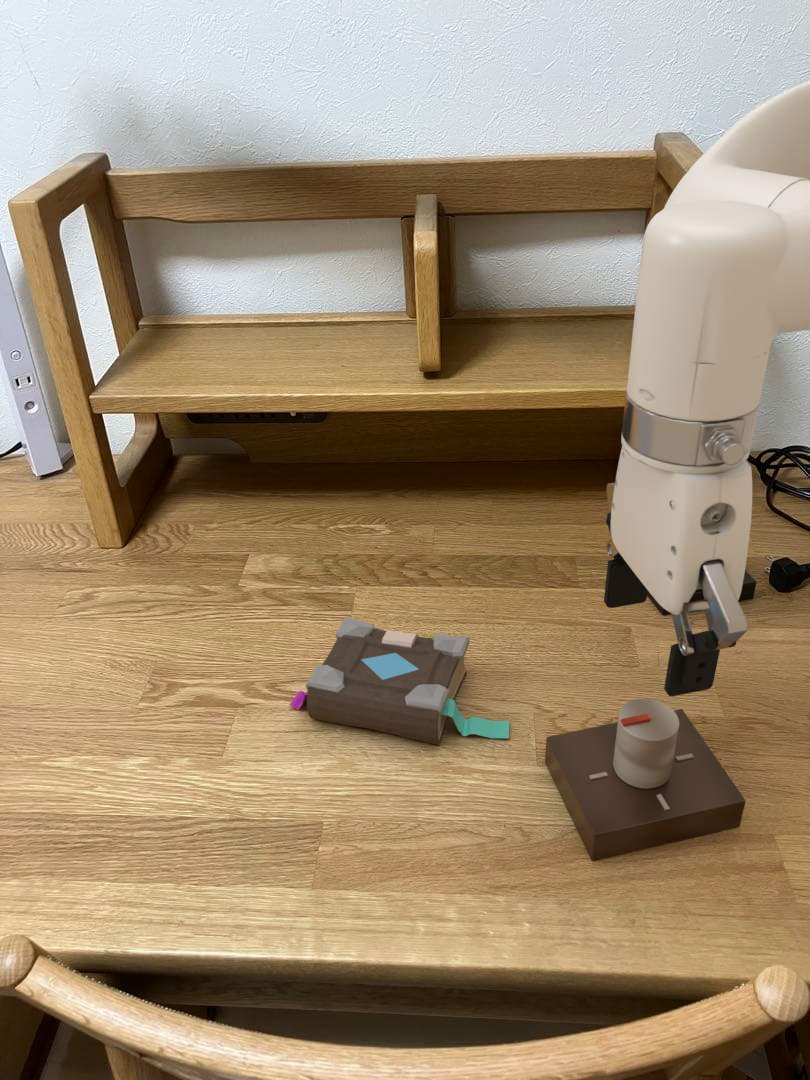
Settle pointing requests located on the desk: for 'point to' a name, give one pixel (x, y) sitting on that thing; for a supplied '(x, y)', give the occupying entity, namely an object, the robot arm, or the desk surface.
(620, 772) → the knob
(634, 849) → the panel
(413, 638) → the book
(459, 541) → the desk surface
